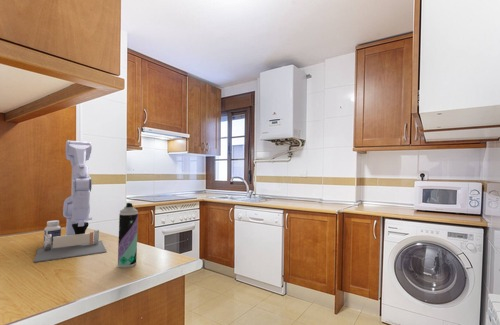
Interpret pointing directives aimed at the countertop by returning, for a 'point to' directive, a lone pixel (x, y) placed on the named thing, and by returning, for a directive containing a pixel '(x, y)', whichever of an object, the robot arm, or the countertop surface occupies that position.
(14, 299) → the countertop surface
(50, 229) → the pill bottle
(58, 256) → the mat
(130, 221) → the spray can
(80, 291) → the countertop surface
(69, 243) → the gate
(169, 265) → the countertop surface
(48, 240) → the posts
